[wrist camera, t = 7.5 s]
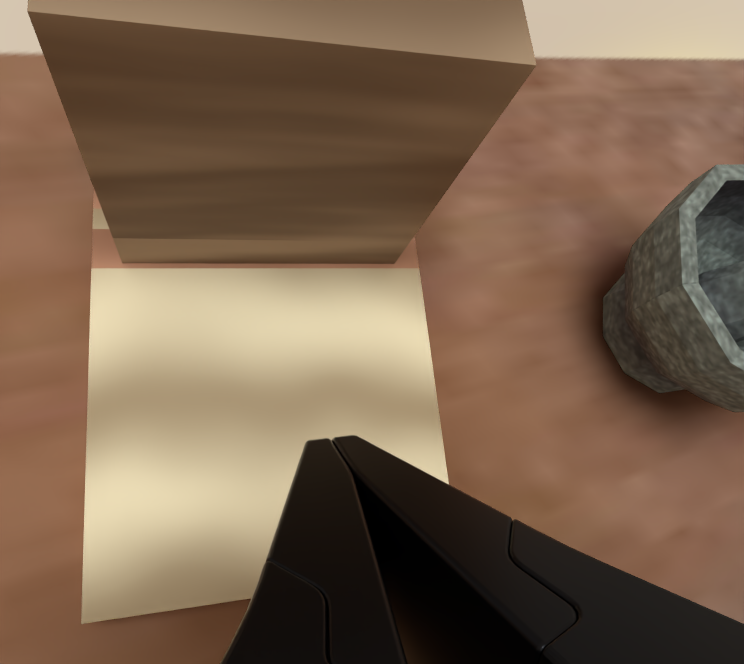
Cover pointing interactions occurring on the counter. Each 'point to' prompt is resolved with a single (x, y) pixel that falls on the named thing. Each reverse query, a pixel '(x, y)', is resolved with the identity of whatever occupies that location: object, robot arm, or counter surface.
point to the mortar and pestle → (686, 295)
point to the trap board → (233, 410)
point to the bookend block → (278, 118)
